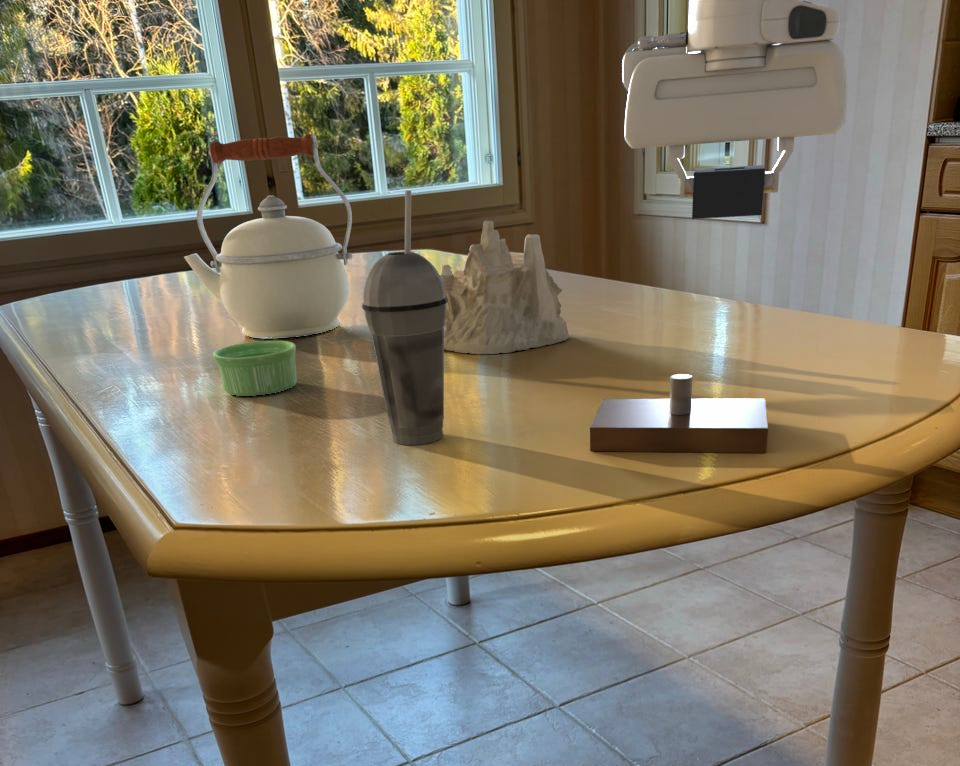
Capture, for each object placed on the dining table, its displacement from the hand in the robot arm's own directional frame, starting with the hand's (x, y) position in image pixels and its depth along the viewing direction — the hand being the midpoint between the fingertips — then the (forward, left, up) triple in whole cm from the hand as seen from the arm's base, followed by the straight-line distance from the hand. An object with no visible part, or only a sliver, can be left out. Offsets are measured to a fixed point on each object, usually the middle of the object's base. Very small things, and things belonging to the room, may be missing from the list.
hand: (728, 195), depth 91 cm
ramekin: (+50, +7, -17) cm, 53 cm away
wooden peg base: (+3, +24, -17) cm, 30 cm away
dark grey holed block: (0, 0, -2) cm, 2 cm away
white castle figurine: (+28, -17, -17) cm, 36 cm away
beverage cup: (+26, +25, -17) cm, 40 cm away
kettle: (+63, -27, -17) cm, 70 cm away
